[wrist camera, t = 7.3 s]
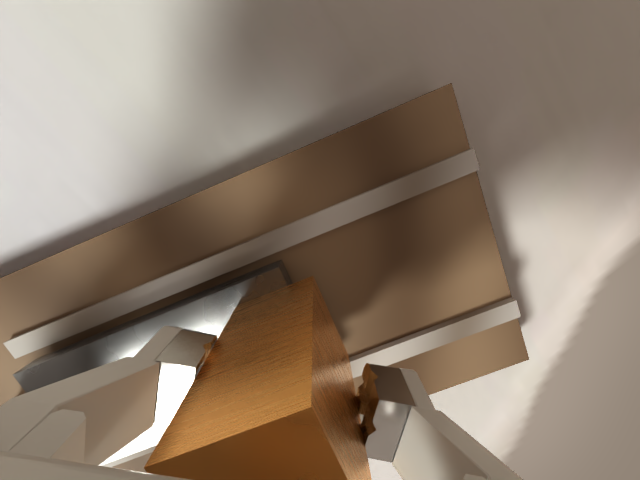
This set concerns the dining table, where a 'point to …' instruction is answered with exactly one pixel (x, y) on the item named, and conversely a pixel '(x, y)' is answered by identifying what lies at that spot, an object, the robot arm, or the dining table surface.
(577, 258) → the dining table surface
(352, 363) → the board
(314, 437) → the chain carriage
